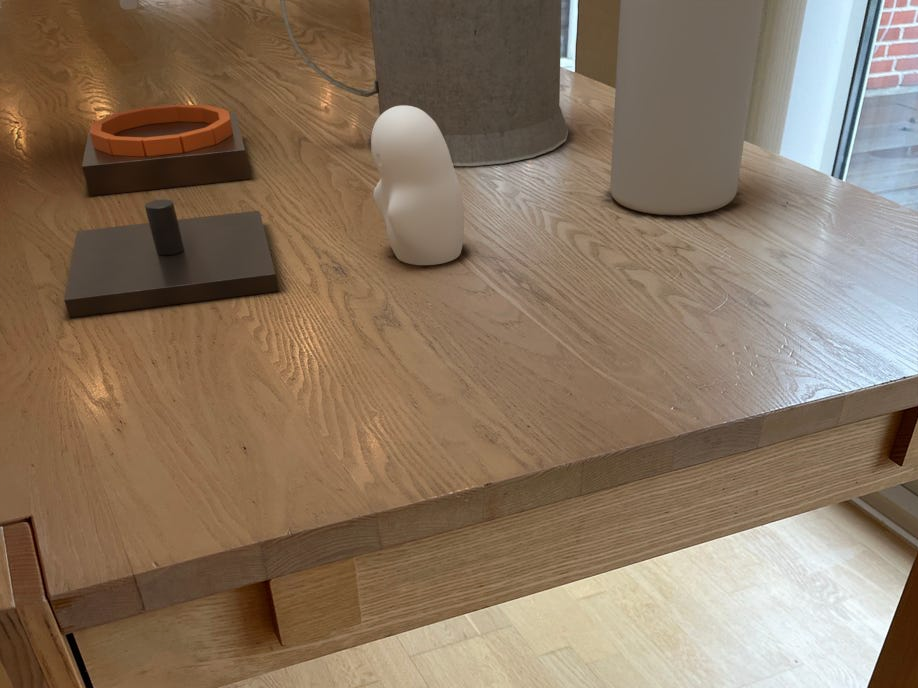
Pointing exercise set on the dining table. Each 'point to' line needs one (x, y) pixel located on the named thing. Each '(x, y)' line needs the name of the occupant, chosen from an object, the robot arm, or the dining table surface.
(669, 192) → the cylinder vase
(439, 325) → the dining table surface
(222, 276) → the peg stand
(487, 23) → the pitcher
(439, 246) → the figurine
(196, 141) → the ring
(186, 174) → the stand
